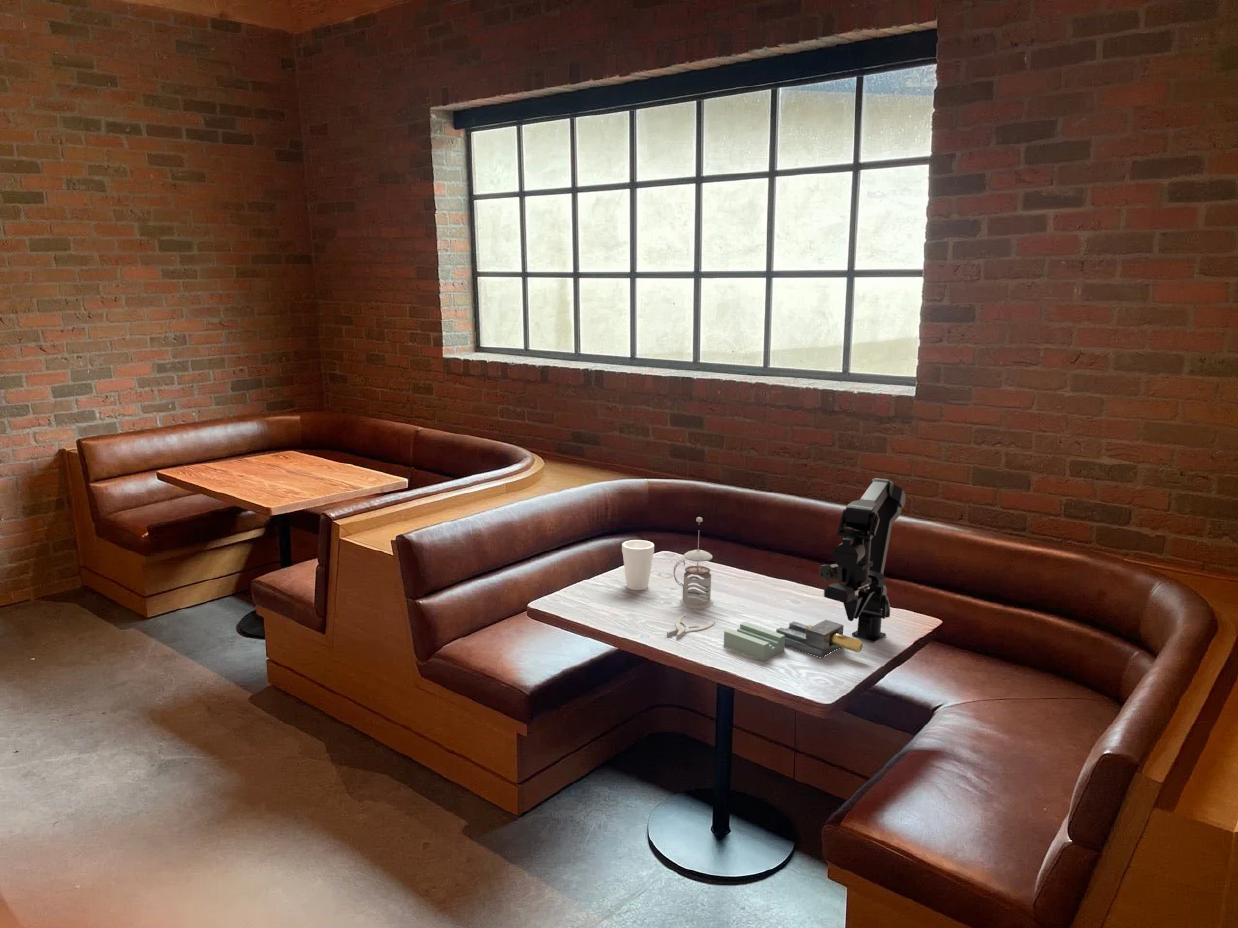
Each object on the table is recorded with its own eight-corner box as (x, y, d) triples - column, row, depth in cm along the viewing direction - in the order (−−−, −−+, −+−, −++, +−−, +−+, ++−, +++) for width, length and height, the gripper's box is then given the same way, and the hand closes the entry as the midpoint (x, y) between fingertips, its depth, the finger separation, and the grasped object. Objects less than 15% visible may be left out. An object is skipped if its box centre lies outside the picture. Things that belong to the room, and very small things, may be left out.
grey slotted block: (795, 630, 228) (796, 609, 227) (843, 646, 218) (844, 624, 217) (773, 641, 221) (774, 619, 220) (821, 658, 211) (823, 635, 210)
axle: (810, 636, 220) (812, 624, 220) (861, 652, 211) (863, 640, 211) (804, 636, 218) (807, 624, 218) (855, 653, 209) (858, 640, 209)
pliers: (715, 618, 232) (689, 637, 220) (715, 624, 232) (689, 643, 220) (683, 611, 237) (655, 629, 225) (682, 616, 237) (655, 634, 225)
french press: (715, 608, 243) (718, 522, 238) (673, 608, 243) (676, 521, 238) (712, 596, 252) (715, 512, 247) (672, 595, 252) (674, 512, 247)
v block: (744, 636, 224) (745, 621, 223) (784, 650, 216) (785, 635, 215) (723, 646, 218) (724, 631, 217) (763, 660, 209) (764, 645, 209)
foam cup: (658, 585, 261) (659, 543, 259) (643, 593, 254) (643, 551, 251) (631, 579, 266) (632, 538, 264) (615, 587, 258) (616, 545, 256)
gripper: (847, 542, 218) (843, 601, 221) (806, 557, 205) (802, 620, 208) (888, 552, 211) (883, 613, 214) (848, 568, 198) (843, 633, 201)
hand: (852, 619), depth 209 cm, fingers closed
